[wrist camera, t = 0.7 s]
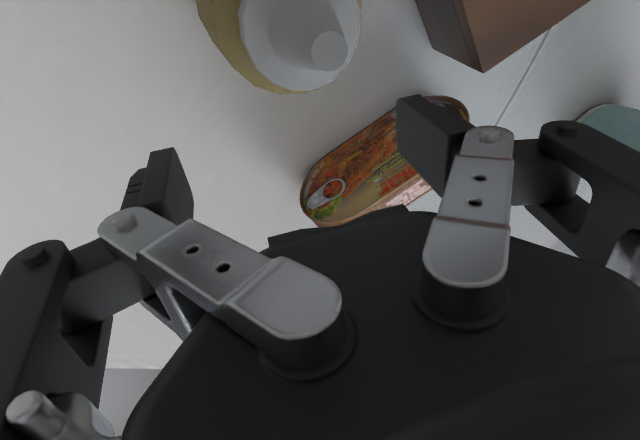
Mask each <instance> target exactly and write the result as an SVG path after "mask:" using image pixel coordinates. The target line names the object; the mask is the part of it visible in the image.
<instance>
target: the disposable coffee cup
mask: <svg viewBox="0 0 640 440" xmlns="http://www.w3.org/2000/svg"><path fill="white" fill-rule="evenodd" d="M576 122H580V123H583V124H586V125H588V126H590V127H592V128H594V129H596V130H598V131H600V132H602V133H604V134H606V135H608V136H610V137H612V138H614V139H615V140H617V141H619V142H621V143H623V144H625V145H627V146H629V147H631V148H633V149H635V150H637V151H639V152H640V110H637V109H633V108H629V107H625V106H620V105H616V104H610V105H607V104H602V105H600V106H597V107H594V108H592V109H590V110H588V111H587V112H586V113H585V114H584V115H583V116H581V117H580V118H579V119H578V120H577V121H576Z"/></svg>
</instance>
